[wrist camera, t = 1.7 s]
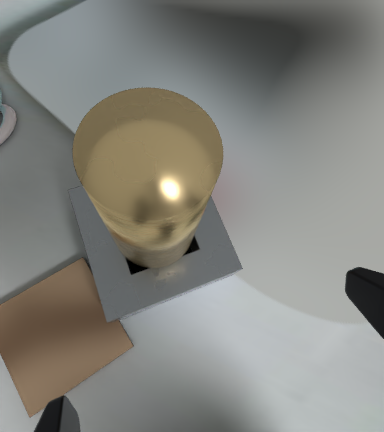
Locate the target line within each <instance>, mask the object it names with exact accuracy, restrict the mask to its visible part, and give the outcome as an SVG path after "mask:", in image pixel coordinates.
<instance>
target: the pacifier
mask: <svg viewBox="0 0 384 432" xmlns="http://www.w3.org/2000/svg"><path fill="white" fill-rule="evenodd" d="M0 113H1V114H3V121H2V124H1V125H0V145H1V144H2V143H3V142H4V141H5V140H6V139H7V138H8V137H9V136H10V134H11V133H12V131H13V130H14V128H15V124H16V121H17V119H16V113H15V111H14V109H13V108H11V107H10V106H8V105H6V104H2V95H1V90H0Z"/></svg>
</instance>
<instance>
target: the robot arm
mask: <svg viewBox="0 0 384 432" xmlns="http://www.w3.org/2000/svg"><path fill="white" fill-rule="evenodd" d="M345 292H346V294H347V296H348V298H349V299H350V300H351V301H352V302H353V304H354V305H355V306H356V307H357V308H358V310H359V311H360V312H361V313H362V314H363V315H364V317H365V318H366V319H367V320H368V322H369V323H370V324H371V325H372V326H373V328H374V329H375V330H376V331H377V332H378V333H379V334H380V336H381V337H382V338H383V339H384V274H383V273H379V272H376V271H372V270H368V269H365V268H362V267H357V268H354V269H352V270H349V271H348V272H347V274H346V284H345ZM34 432H80V423H79V417H78V414H77V412H76V410H75V408H74V407H73V405H72V404H71V403H70V401H69V400H68V398H67V397H66V396H64V395H63V396H60V397H58V398H55V399H53V400H51V401H49V402H48V404H47V405H46V407H45V409H44V411H43V413H42V416H41V418H40V420H39V422H38V424H37V426H36V428H35V430H34Z"/></svg>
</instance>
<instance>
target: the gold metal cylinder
mask: <svg viewBox="0 0 384 432" xmlns="http://www.w3.org/2000/svg"><path fill="white" fill-rule="evenodd" d="M73 162H74V167H75V170H76V173H77V176H78V178H79V180H80V181H81V183H82V185H83V187H84V189H85V190H86V192H87V194H88V196H89V197H90V199H91V201H92V203H93V204H94V206H95V208H96V210H97V211H98V213H99V215H100V217H101V218H102V220H103V222H104V224H105V225H106V227H107V229H108V231H109V232H110V234H111V236H112V238H113V239H114V241H115V243H116V245H117V246H118V248H119V250H120V251H121V253H122V254H123V255H124V256H125V257H126V258H127V259H128V260H129V261H131V262H133V263H134V264H136V265H139V266H142V267H146V268H161V267H165V266H168V265H170V264H172V263H174V262H176V261H177V260H179V259H180V258H181V257H182V256H183V255H184V254H185V253H186V251H187V250H188V248H189V246H190V244H191V242H192V239H193V237H194V234H195V232H196V230H197V227H198V225H199V222H200V220H201V218H202V215H203V213H204V210H205V208H206V206H207V203H208V201H209V198H210V196H211V194H212V191H213V189H214V186H215V184H216V182H217V179H218V177H219V174H220V171H221V168H222V162H223V146H222V140H221V137H220V134H219V131H218V129H217V127H216V125H215V123H214V122H213V121H212V119H211V118H210V116H209V115H208V114H207V113H206V112H205V111H204V110H203V109H202V108H201V107H200V106H199V105H197V104H196V103H195V102H193V101H192V100H190V99H188V98H187V97H184V96H183V95H180V94H178V93H175V92H172V91H169V90H165V89H159V88H135V89H129V90H125V91H121V92H118V93H116V94H113V95H111V96H109V97H107V98H105V99H104V100H102V101H101V102H99V103H98V104H96V105H95V106H94V107H93V108H92V109H91V110H90V111H89V112H88V113H87V114H86V115H85V117H84V118H83V120H82V121H81V123H80V125H79V127H78V129H77V131H76V134H75V137H74V142H73Z"/></svg>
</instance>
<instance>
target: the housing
mask: <svg viewBox="0 0 384 432" xmlns="http://www.w3.org/2000/svg"><path fill="white" fill-rule="evenodd" d="M68 192H69V195H70V199H71V202H72V205H73V209H74V212H75V216H76V219H77V222H78V226H79V229H80V233H81V236H82V239H83V243H84V246H85V249H86V253H87V256H88V260H89V263H90V266H91V270H92V273H93V277H94V280H95V283H96V287H97V290H98V293H99V297H100V300H101V304H102V307H103V310H104V314H105V317H106V321H107V323H108V322H115V321H117V320H121V319H123V318H126V317H128V316H131V315H133V314H136V313H138V312H141V311H143V310H146V309H148V308H151V307H153V306H156V305H158V304H161V303H163V302H166V301H168V300H171V299H173V298H176V297H178V296H181V295H183V294H186V293H188V292H191V291H193V290H196V289H198V288H201V287H203V286H206V285H208V284H211V283H214V282H216V281H219V280H221V279H224V278H226V277H229V276H231V275H233V274H235V273H236V272H238V271H240V270H241V269H243V268H242V266H241V263H240V261H239V259H238V256H237V254H236V252H235V250H234V247H233V245H232V243H231V240H230V238H229V236H228V234H227V231H226V229H225V227H224V225H223V222H222V220H221V218H220V215H219V213H218V211H217V209H216V206H215V204H214V202H213V200H212V197H211V196H210V198H209V201H208V203H207V206H206V208H205V210H204V213H203V215H202V218H201V220H200V222H199V225H198V227H197V230H196V232H195V234H194V237H193V239H192V242H191V244H190V247H191V249H192V253H189V254H187V255H184V256H182V257H181V258H180V259H179V260H177V261H176V262H174V263H172V264H170V265H168V266H165V267H161V268H149V269H146V270H143V271H141V272H138V273H135V274H132V271H131V268H130V265H129V262H128V259H127V258H126V257H125V256H124V255H123V254H122V253H121V251H120V250H119V248H118V246H117V245H116V243H115V241H114V239H113V238H112V236H111V234H110V232H109V231H108V229H107V227H106V225H105V224H104V222H103V220H102V218H101V217H100V215H99V213H98V211H97V210H96V208H95V206H94V204H93V203H92V201H91V199H90V197H89V196H88V194H87V192H86V190H85V189H84V187H83V186H80V187H76V188H73V189H69V190H68Z"/></svg>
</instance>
